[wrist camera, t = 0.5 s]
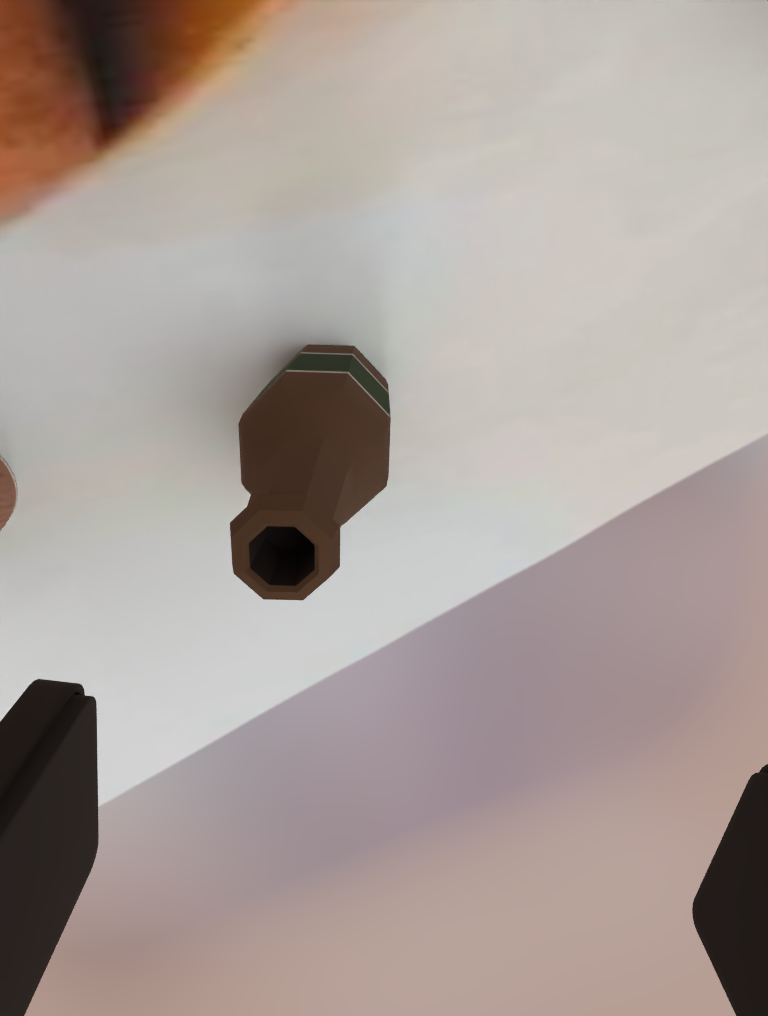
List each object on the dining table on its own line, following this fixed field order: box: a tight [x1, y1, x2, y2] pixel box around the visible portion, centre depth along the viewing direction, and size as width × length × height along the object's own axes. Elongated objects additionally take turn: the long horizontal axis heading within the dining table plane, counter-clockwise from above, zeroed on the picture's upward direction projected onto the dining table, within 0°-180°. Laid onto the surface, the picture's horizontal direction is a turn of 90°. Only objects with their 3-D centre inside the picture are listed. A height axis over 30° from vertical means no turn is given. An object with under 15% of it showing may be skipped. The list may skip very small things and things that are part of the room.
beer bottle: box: [230, 345, 390, 600], centre depth 32 cm, size 8×8×24 cm
